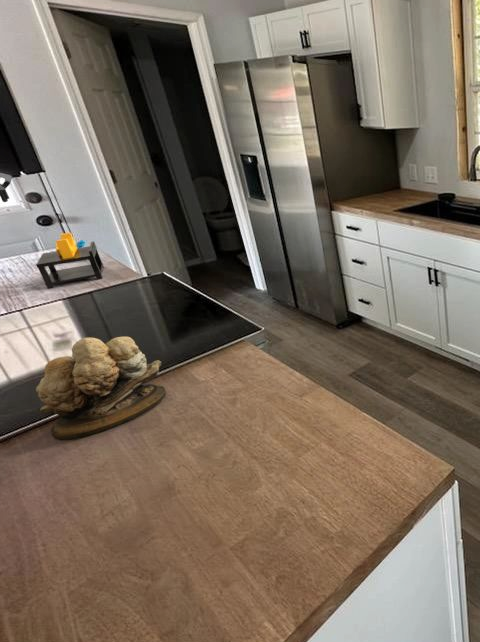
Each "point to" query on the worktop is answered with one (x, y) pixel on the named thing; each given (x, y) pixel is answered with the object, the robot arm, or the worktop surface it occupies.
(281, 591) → the worktop surface
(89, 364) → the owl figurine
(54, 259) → the rack
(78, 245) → the gear
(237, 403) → the worktop surface
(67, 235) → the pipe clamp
